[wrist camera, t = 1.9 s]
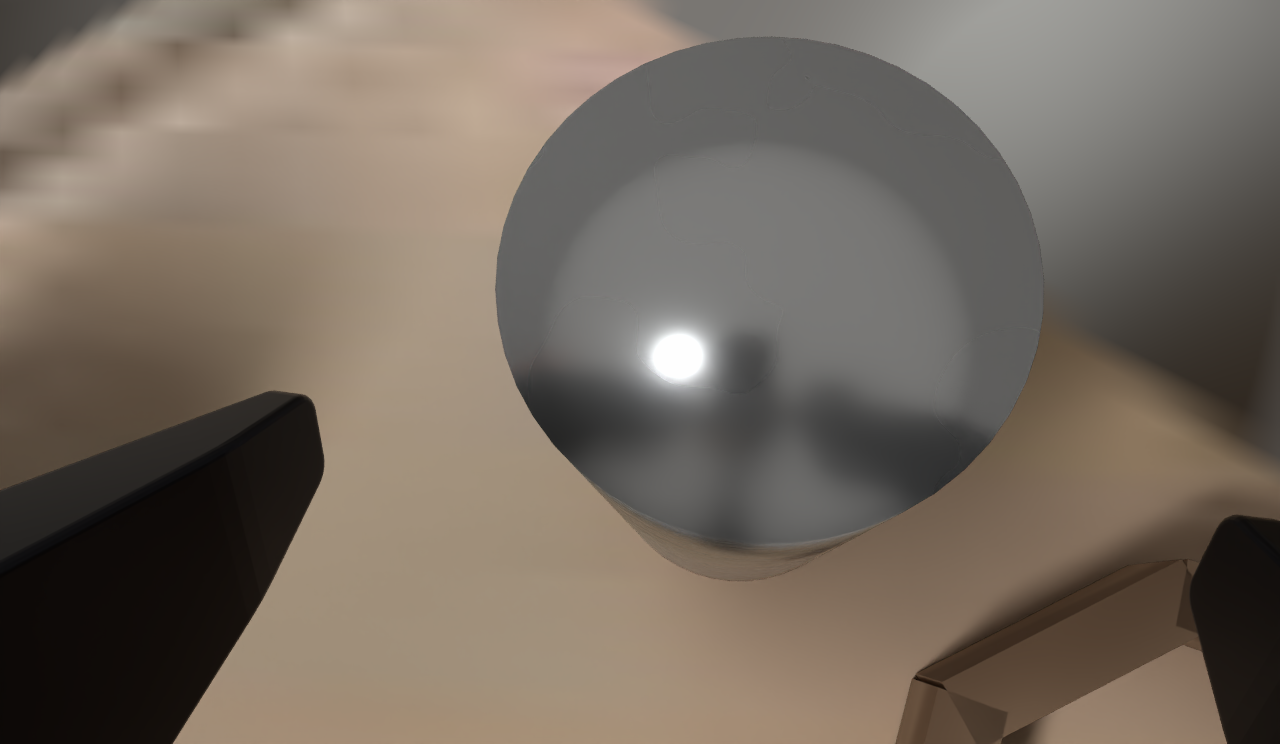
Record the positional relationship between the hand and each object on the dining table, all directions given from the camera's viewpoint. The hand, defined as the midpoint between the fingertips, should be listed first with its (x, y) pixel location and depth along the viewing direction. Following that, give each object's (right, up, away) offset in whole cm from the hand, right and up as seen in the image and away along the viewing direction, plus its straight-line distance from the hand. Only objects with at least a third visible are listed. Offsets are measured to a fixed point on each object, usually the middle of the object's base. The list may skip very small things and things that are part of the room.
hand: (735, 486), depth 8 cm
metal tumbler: (+1, -1, +10) cm, 10 cm away
